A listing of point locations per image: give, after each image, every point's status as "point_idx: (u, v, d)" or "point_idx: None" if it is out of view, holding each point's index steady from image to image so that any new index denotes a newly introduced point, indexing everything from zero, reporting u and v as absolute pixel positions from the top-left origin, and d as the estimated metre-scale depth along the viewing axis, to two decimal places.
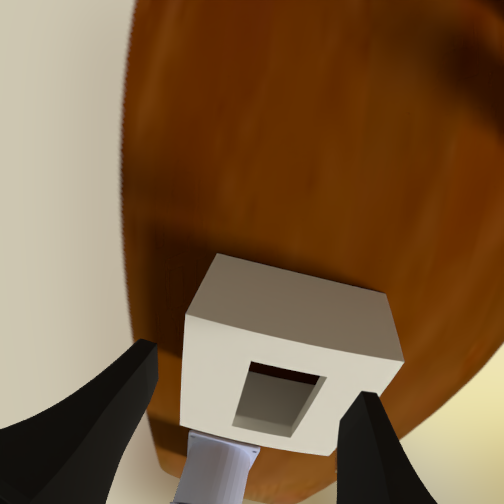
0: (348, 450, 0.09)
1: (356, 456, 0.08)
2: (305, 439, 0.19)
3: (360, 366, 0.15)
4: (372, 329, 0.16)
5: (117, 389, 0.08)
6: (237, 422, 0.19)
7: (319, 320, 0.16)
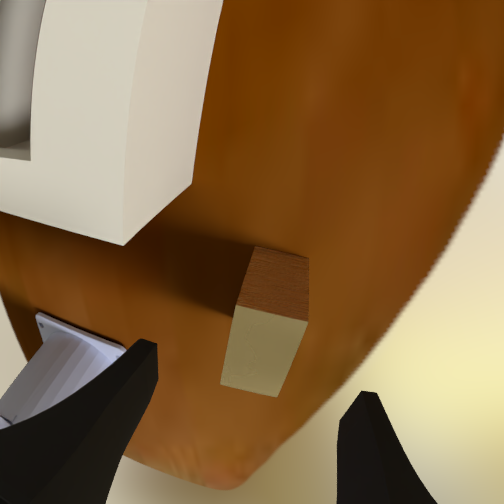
0: (348, 450, 0.09)
1: (356, 456, 0.08)
2: (53, 161, 0.07)
3: None
4: None
5: (117, 389, 0.08)
6: None
7: None
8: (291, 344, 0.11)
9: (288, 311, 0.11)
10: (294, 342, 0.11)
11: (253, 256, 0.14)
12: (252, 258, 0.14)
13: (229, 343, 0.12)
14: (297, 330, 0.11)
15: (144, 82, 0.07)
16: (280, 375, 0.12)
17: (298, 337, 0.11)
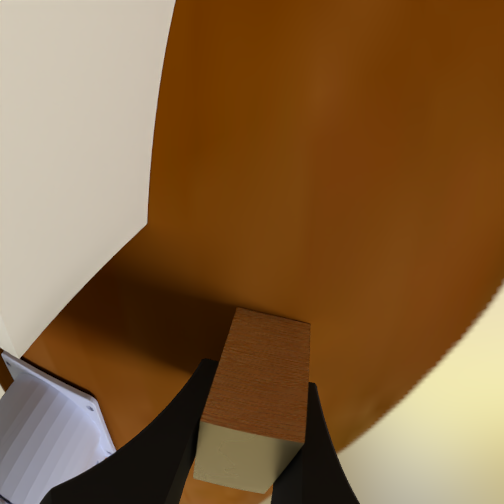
0: None
1: None
2: None
3: None
4: None
5: (196, 416, 0.07)
6: None
7: None
8: (280, 459, 0.07)
9: (276, 428, 0.07)
10: (284, 458, 0.07)
11: (232, 328, 0.10)
12: (231, 331, 0.09)
13: (198, 451, 0.08)
14: (289, 449, 0.07)
15: (0, 94, 0.03)
16: (267, 480, 0.08)
17: (290, 454, 0.07)
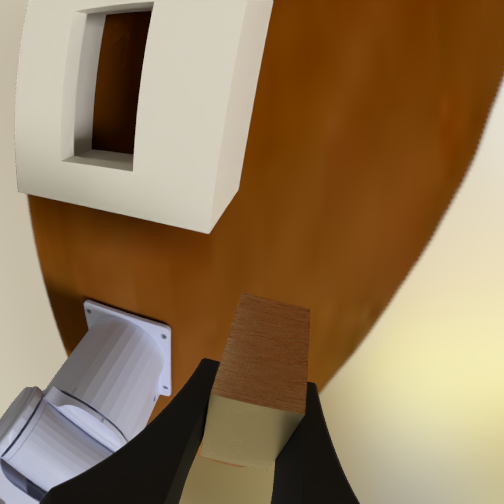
0: None
1: (287, 448, 0.08)
2: (155, 173, 0.12)
3: None
4: None
5: (196, 416, 0.07)
6: (70, 159, 0.13)
7: None
8: (283, 432, 0.08)
9: (279, 400, 0.08)
10: (287, 431, 0.08)
11: (238, 311, 0.11)
12: (237, 315, 0.10)
13: (207, 426, 0.09)
14: (290, 421, 0.08)
15: (228, 123, 0.11)
16: (270, 455, 0.09)
17: (292, 427, 0.08)
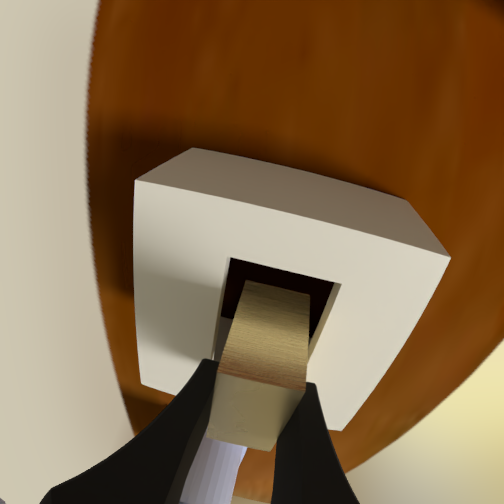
0: (283, 442, 0.09)
1: (287, 448, 0.08)
2: None
3: (390, 263, 0.10)
4: (399, 221, 0.11)
5: (196, 416, 0.07)
6: None
7: (325, 202, 0.11)
8: (285, 410, 0.09)
9: (281, 378, 0.09)
10: (288, 409, 0.09)
11: (242, 297, 0.11)
12: (241, 300, 0.11)
13: (212, 405, 0.09)
14: (292, 398, 0.08)
15: None
16: (273, 435, 0.10)
17: (293, 404, 0.09)
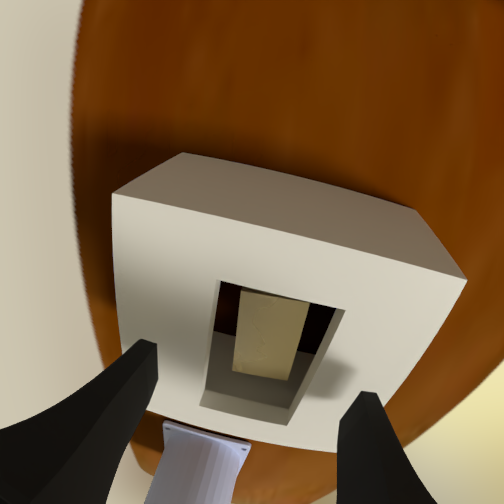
0: (348, 450, 0.09)
1: (356, 456, 0.08)
2: (309, 428, 0.13)
3: (400, 287, 0.09)
4: (409, 237, 0.10)
5: (117, 389, 0.08)
6: (208, 401, 0.13)
7: (328, 217, 0.10)
8: (296, 326, 0.12)
9: None
10: (298, 323, 0.12)
11: None
12: None
13: (238, 328, 0.12)
14: (300, 311, 0.12)
15: None
16: (288, 358, 0.13)
17: (302, 318, 0.12)
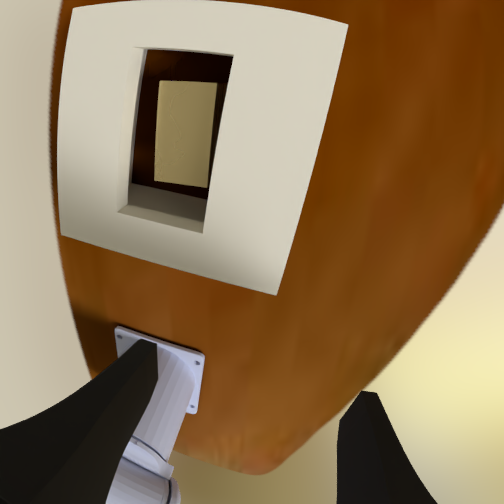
0: (348, 450, 0.09)
1: (356, 456, 0.08)
2: (227, 237, 0.13)
3: (280, 30, 0.09)
4: None
5: (117, 389, 0.08)
6: (126, 210, 0.13)
7: None
8: (207, 110, 0.12)
9: (202, 82, 0.12)
10: (209, 107, 0.12)
11: None
12: None
13: (157, 122, 0.12)
14: (209, 93, 0.12)
15: None
16: (204, 153, 0.13)
17: (212, 101, 0.12)
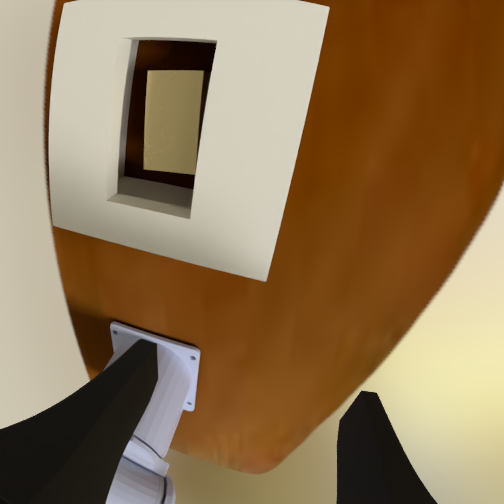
0: (348, 450, 0.09)
1: (356, 456, 0.08)
2: (214, 222, 0.13)
3: (262, 15, 0.09)
4: None
5: (117, 389, 0.08)
6: (116, 198, 0.13)
7: None
8: (194, 98, 0.12)
9: (189, 70, 0.12)
10: (196, 95, 0.12)
11: None
12: None
13: (146, 111, 0.12)
14: (196, 81, 0.11)
15: None
16: (192, 140, 0.13)
17: (199, 89, 0.12)
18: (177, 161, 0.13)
